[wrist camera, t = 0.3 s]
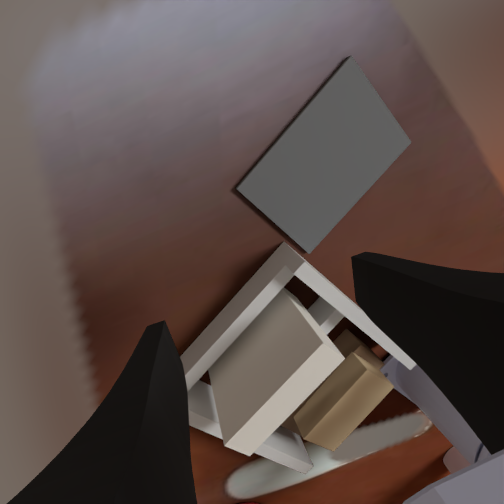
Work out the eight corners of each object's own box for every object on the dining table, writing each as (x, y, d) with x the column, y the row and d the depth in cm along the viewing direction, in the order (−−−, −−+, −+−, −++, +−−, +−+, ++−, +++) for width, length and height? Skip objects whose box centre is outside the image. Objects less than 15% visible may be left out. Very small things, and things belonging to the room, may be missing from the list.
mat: (408, 142, 22) (411, 142, 22) (307, 252, 23) (309, 254, 23) (348, 56, 19) (351, 55, 19) (235, 188, 20) (236, 189, 20)
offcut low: (366, 345, 29) (384, 364, 27) (296, 415, 30) (307, 439, 27) (344, 325, 27) (361, 344, 25) (270, 400, 28) (280, 425, 26)
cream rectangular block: (296, 297, 24) (345, 358, 18) (226, 372, 25) (249, 456, 19) (278, 283, 24) (323, 342, 17) (206, 361, 24) (224, 445, 18)
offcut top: (378, 368, 26) (394, 386, 25) (321, 429, 27) (333, 451, 26) (351, 351, 25) (367, 369, 23) (293, 417, 26) (303, 439, 24)
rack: (390, 334, 28) (419, 361, 25) (289, 437, 30) (305, 474, 27) (283, 241, 22) (304, 261, 19) (163, 375, 24) (164, 414, 21)
